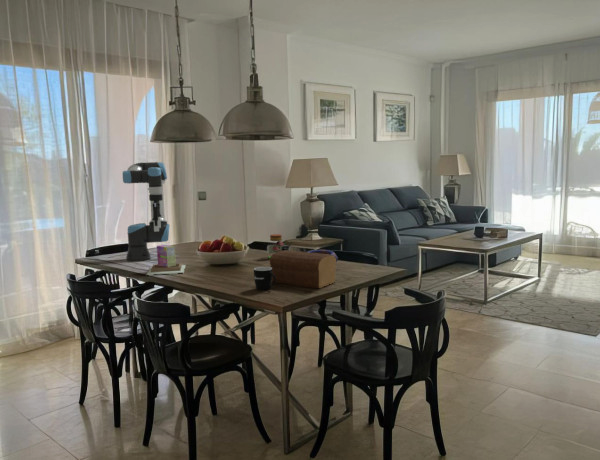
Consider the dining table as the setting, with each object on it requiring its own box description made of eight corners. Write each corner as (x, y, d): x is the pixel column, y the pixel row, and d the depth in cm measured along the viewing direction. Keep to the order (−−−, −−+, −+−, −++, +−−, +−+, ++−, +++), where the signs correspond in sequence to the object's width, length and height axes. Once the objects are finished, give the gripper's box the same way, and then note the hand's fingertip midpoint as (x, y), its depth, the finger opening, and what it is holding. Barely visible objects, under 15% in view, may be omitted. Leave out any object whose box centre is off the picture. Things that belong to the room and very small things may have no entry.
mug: (250, 289, 254) (249, 269, 253) (261, 286, 261) (261, 266, 260) (270, 292, 247) (269, 271, 246) (281, 288, 255) (280, 268, 253)
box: (157, 265, 305) (156, 245, 303) (165, 263, 309) (164, 244, 307) (167, 267, 298) (166, 247, 296) (175, 266, 302) (174, 245, 300)
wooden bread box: (289, 276, 283) (288, 247, 281) (337, 282, 267) (336, 251, 265) (269, 283, 268) (268, 252, 266) (318, 289, 252) (318, 257, 250)
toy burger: (290, 257, 339) (289, 234, 337) (273, 260, 332) (272, 236, 330) (280, 255, 348) (279, 233, 347) (264, 257, 341) (263, 234, 340)
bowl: (312, 273, 290) (312, 255, 288) (300, 267, 306) (299, 250, 305) (341, 270, 297) (341, 252, 295) (327, 264, 313) (327, 248, 312)
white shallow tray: (151, 268, 313) (151, 263, 312) (185, 266, 316) (185, 261, 316) (146, 275, 291) (146, 270, 291) (183, 273, 294) (183, 268, 294)
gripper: (151, 192, 317) (152, 226, 320) (146, 196, 293) (149, 233, 296) (163, 191, 318) (165, 226, 322) (160, 195, 294) (162, 232, 298)
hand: (157, 229), depth 309 cm, fingers open, 13 cm apart
